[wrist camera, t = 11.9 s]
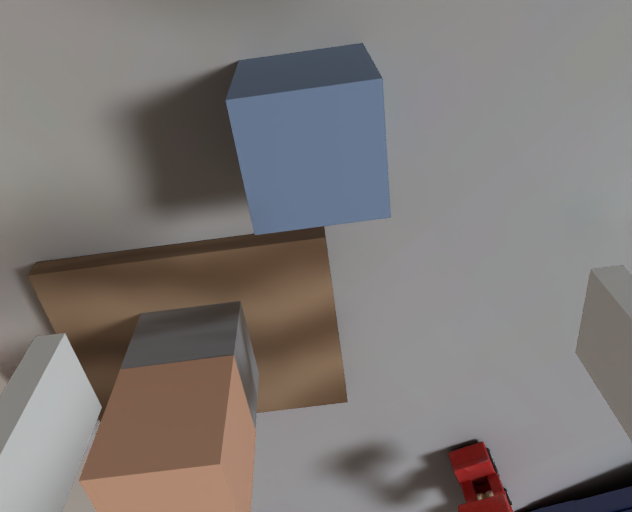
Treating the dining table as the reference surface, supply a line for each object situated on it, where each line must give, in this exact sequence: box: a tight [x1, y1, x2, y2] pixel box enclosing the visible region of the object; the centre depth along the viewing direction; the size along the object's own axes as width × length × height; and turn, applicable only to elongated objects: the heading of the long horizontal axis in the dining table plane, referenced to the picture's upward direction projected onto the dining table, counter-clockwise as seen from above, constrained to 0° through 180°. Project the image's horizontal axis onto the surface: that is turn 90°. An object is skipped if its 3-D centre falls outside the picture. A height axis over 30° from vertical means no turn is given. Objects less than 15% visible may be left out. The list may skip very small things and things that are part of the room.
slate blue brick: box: [226, 43, 391, 235], centre depth 27 cm, size 6×6×7 cm
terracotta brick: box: [79, 355, 256, 512], centre depth 29 cm, size 6×6×7 cm
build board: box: [27, 226, 347, 427], centre depth 35 cm, size 14×18×6 cm
